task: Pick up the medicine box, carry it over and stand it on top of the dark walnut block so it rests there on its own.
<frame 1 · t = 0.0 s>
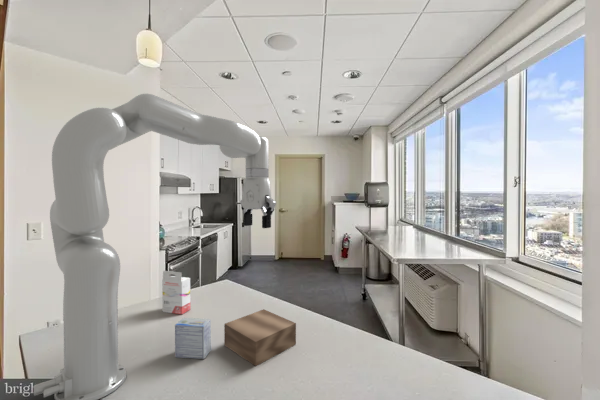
hand: (257, 226, 94), 31 cm above the countertop, tool pointing down, fingers open, 9 cm apart
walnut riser: (260, 344, 80), on the countertop
ink cartridge box: (176, 311, 103), on the countertop
medicine box: (193, 355, 75), on the countertop
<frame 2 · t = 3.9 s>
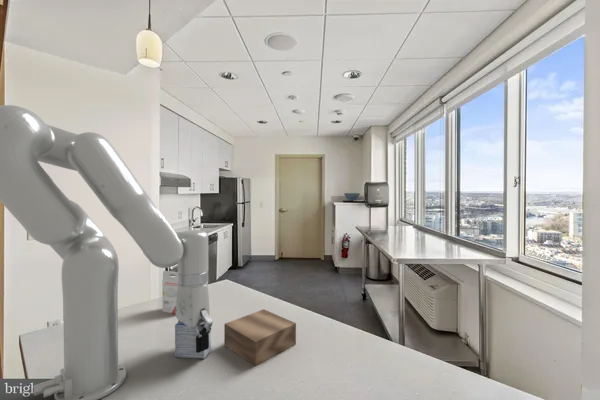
hand: (193, 343, 75), 3 cm above the countertop, tool pointing down, fingers closed on medicine box, 9 cm apart
medicine box: (193, 354, 75), on the countertop, touching gripper
everything else where it was.
when the fingers open (10 cm above the countertop, at t = 11.3 s): medicine box drops 1 cm, resting on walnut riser.
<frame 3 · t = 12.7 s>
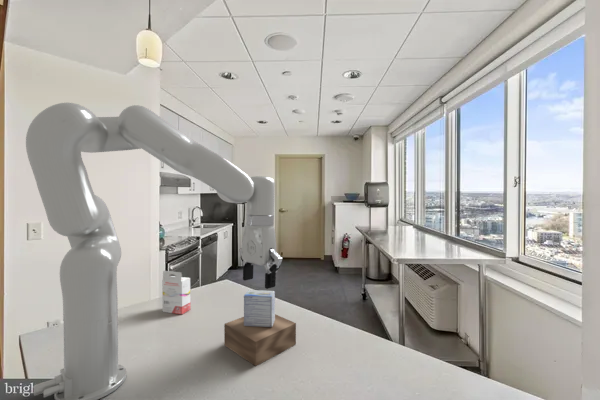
hand: (258, 283, 79), 17 cm above the countertop, tool pointing down, fingers open, 9 cm apart
medicine box: (259, 324, 79), point 6 cm above the countertop, touching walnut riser
everything else where it was.
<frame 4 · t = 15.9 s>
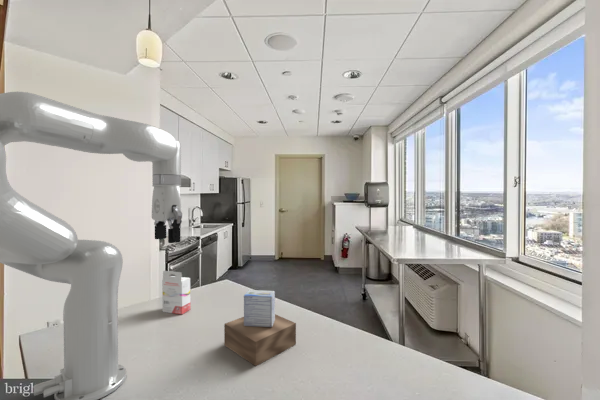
hand: (167, 240, 83), 28 cm above the countertop, tool pointing down, fingers open, 9 cm apart
nothing on the countertop moved.
at the end: medicine box inside the target area on the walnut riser (0.2 cm from its centre), point 5.8 cm above the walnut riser's base; medicine box tilted 0°; the gripper is holding nothing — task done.
